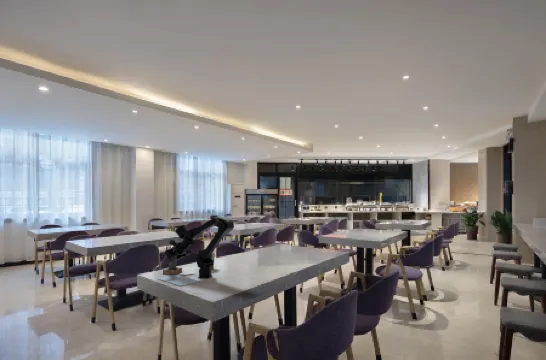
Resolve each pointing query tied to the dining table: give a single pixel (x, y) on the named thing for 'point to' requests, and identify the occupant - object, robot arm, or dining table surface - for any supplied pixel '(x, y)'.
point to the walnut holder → (172, 271)
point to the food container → (212, 259)
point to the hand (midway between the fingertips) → (171, 261)
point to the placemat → (178, 280)
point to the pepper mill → (173, 264)
